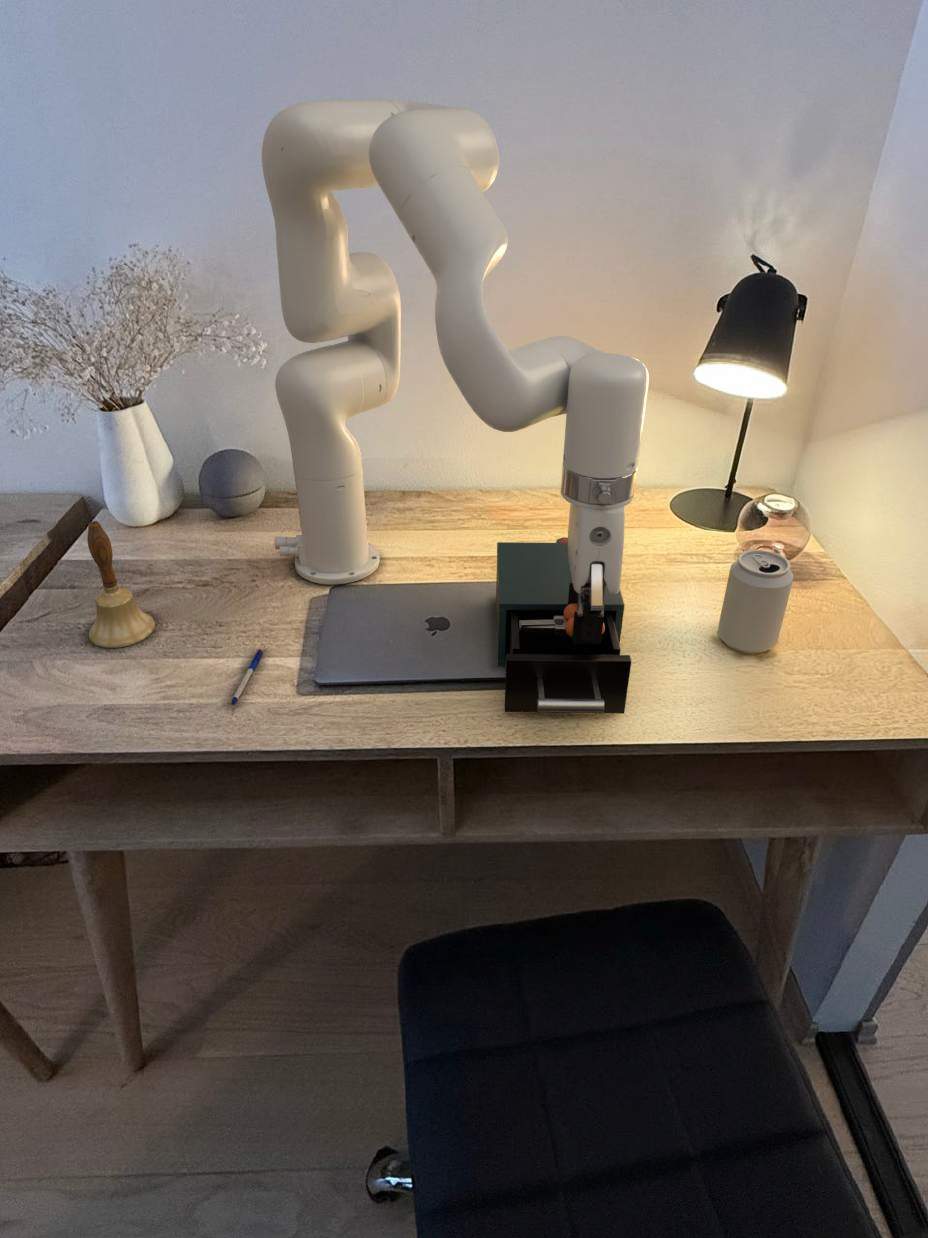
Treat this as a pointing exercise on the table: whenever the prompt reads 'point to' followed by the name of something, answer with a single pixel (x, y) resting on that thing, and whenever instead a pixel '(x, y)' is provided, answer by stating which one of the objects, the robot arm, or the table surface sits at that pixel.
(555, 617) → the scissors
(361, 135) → the robot arm
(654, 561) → the table surface
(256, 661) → the ballpoint pen
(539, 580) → the drawer cabinet
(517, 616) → the open black drawer
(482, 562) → the table surface
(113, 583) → the hand bell
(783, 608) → the can
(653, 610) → the table surface
